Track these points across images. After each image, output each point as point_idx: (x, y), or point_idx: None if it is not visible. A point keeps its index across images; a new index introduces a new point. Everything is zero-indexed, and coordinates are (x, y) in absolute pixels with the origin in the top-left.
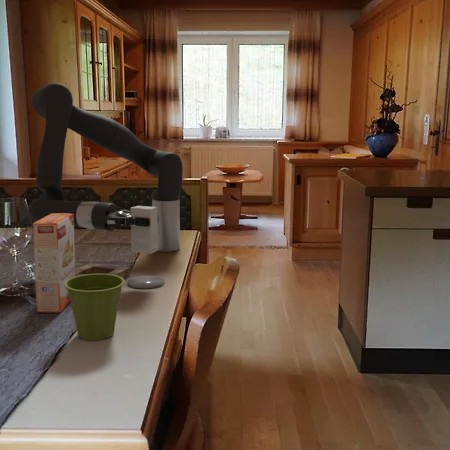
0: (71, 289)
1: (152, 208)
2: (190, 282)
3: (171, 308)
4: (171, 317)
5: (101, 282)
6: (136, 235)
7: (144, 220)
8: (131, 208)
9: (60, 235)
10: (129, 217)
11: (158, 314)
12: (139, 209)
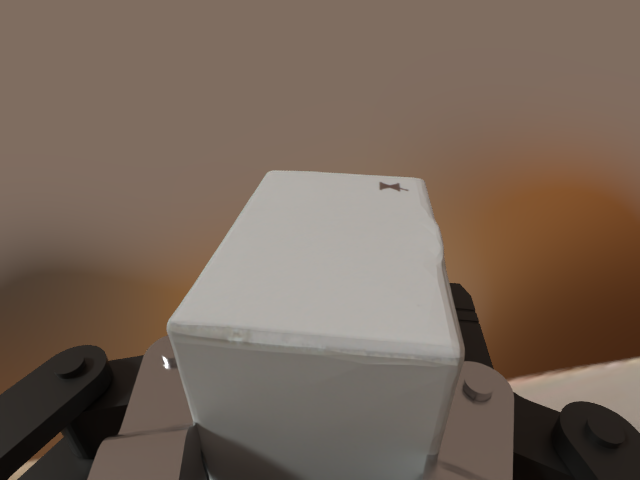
0: None
1: (374, 175)
2: None
3: (551, 383)
4: (610, 365)
5: None
6: None
7: (467, 295)
8: (464, 347)
9: None
10: (568, 420)
11: (625, 404)
12: (438, 256)
